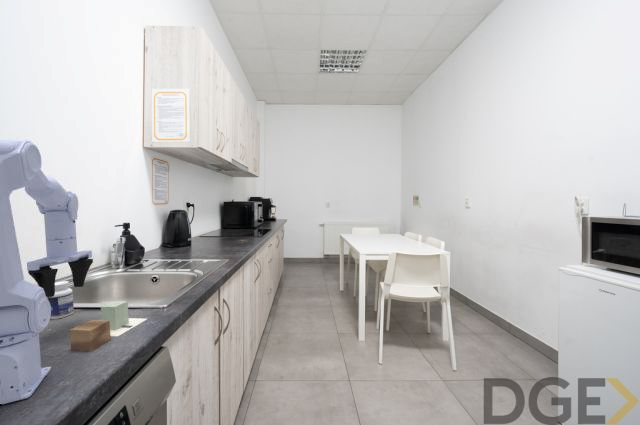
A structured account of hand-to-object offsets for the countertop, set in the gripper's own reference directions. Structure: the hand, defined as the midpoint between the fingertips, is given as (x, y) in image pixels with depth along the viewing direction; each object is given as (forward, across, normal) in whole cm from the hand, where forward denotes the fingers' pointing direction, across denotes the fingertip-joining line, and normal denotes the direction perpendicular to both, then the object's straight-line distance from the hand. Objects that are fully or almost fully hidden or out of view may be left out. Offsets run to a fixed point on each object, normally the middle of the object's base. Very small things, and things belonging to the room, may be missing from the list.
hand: (64, 291), depth 71 cm
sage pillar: (+10, +2, -11) cm, 15 cm away
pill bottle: (+11, +9, +12) cm, 18 cm away
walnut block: (+10, -7, -13) cm, 18 cm away
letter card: (+10, +2, -11) cm, 16 cm away
